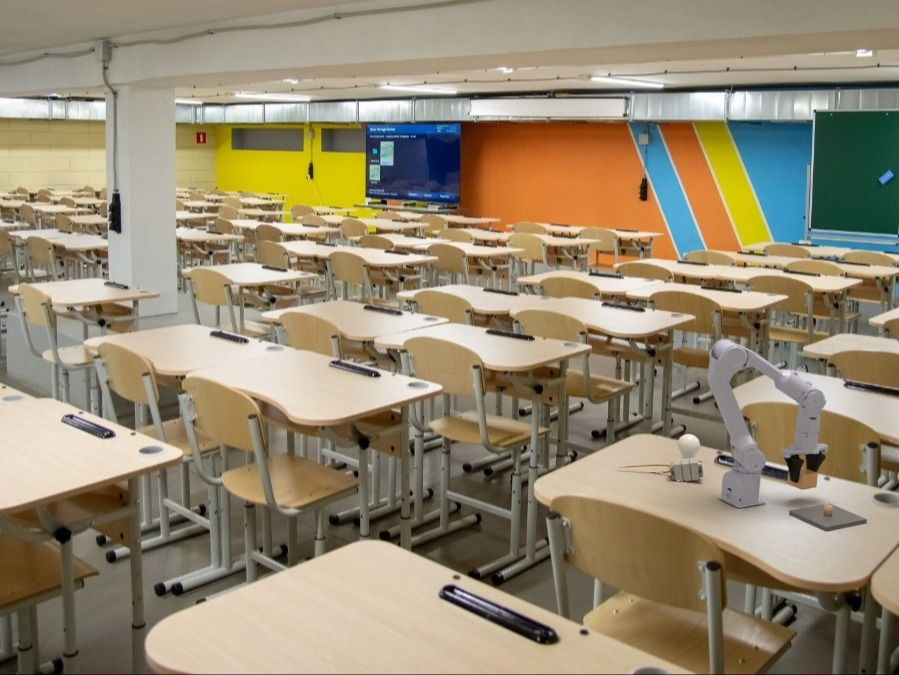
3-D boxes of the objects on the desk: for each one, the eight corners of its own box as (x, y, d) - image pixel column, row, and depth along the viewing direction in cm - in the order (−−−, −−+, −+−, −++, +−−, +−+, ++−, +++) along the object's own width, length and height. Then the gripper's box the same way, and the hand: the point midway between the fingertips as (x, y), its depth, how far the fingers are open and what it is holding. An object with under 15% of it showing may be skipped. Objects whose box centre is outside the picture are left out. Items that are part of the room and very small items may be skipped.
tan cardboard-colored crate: (801, 489, 244) (803, 475, 243) (787, 483, 249) (788, 469, 248) (816, 487, 246) (817, 473, 246) (801, 481, 251) (802, 467, 250)
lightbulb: (700, 474, 269) (703, 437, 266) (678, 473, 269) (681, 437, 267) (695, 467, 275) (697, 431, 273) (673, 466, 275) (676, 431, 273)
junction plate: (825, 531, 228) (827, 517, 227) (789, 514, 239) (790, 501, 238) (866, 522, 234) (867, 509, 233) (829, 506, 245) (830, 494, 244)
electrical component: (618, 487, 267) (615, 470, 266) (619, 480, 272) (617, 464, 272) (703, 479, 260) (701, 462, 259) (703, 473, 266) (701, 456, 265)
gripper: (798, 438, 238) (793, 488, 241) (839, 432, 244) (833, 481, 247) (777, 430, 244) (773, 480, 247) (818, 425, 250) (813, 473, 253)
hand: (802, 480), depth 247 cm, fingers closed on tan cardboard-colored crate, 5 cm apart
